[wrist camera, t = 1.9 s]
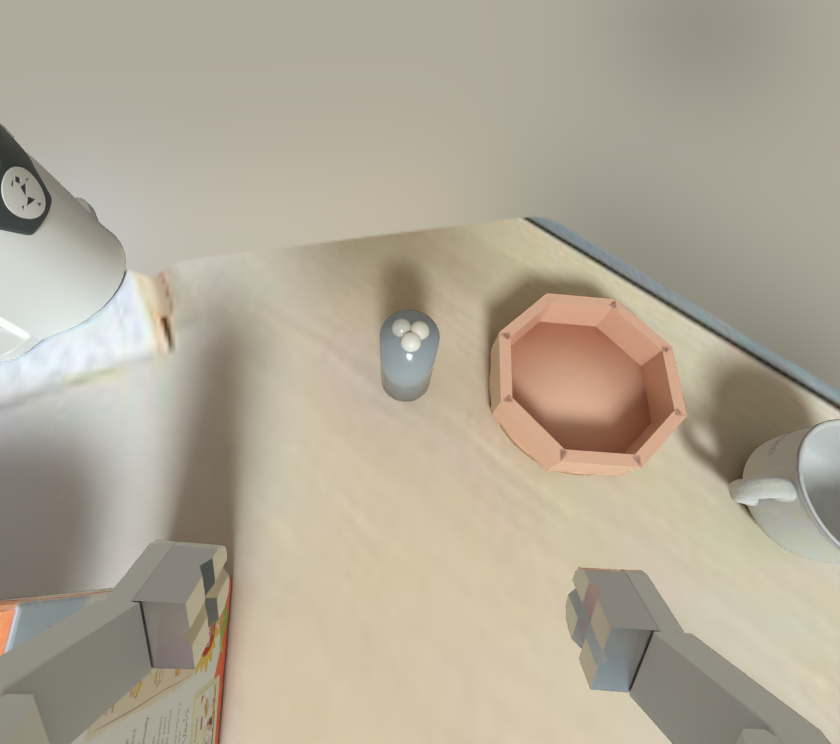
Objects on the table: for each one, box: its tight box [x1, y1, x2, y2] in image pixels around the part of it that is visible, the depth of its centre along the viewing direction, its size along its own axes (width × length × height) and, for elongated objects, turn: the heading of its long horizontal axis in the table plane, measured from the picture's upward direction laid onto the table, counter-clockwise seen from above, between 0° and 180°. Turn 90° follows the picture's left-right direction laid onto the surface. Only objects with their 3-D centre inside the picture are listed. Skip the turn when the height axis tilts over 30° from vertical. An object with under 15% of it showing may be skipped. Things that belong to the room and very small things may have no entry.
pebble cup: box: [380, 310, 440, 401], centre depth 37 cm, size 5×5×9 cm
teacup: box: [729, 419, 840, 565], centre depth 35 cm, size 14×11×8 cm
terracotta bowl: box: [489, 293, 687, 475], centre depth 39 cm, size 16×16×4 cm
